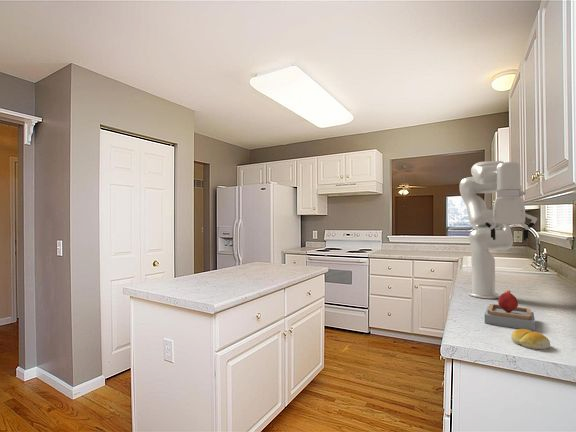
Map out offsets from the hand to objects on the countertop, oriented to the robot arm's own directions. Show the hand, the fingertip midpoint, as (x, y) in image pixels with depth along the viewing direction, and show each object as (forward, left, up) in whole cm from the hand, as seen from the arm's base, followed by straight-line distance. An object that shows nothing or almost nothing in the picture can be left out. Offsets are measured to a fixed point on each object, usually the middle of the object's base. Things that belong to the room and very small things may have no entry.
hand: (509, 240), depth 123 cm
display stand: (+10, 0, -28) cm, 30 cm away
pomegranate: (+10, 0, -26) cm, 27 cm away
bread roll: (+31, +6, -29) cm, 43 cm away
